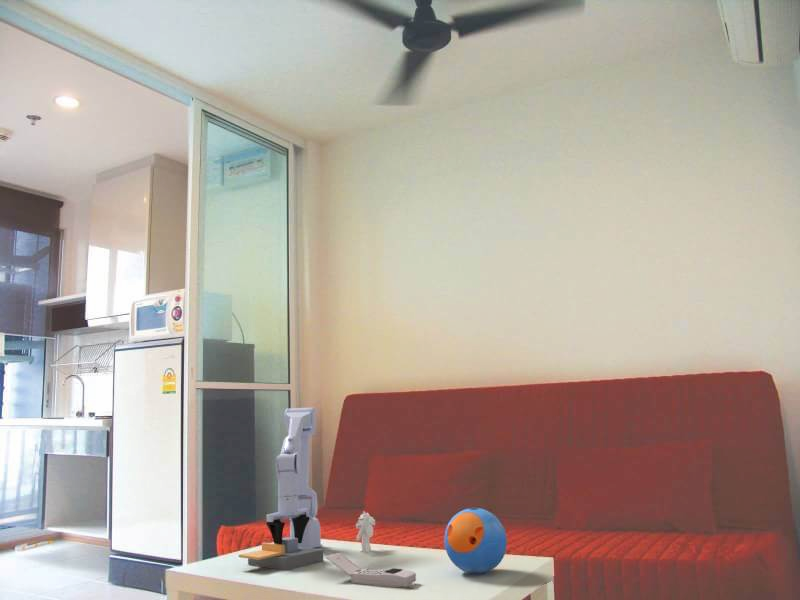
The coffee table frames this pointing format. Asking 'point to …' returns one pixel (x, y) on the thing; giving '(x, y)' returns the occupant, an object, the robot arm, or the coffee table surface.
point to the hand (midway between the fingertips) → (288, 545)
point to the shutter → (265, 551)
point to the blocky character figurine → (365, 531)
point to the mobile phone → (373, 573)
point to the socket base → (291, 559)
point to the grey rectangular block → (290, 544)
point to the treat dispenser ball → (475, 541)
